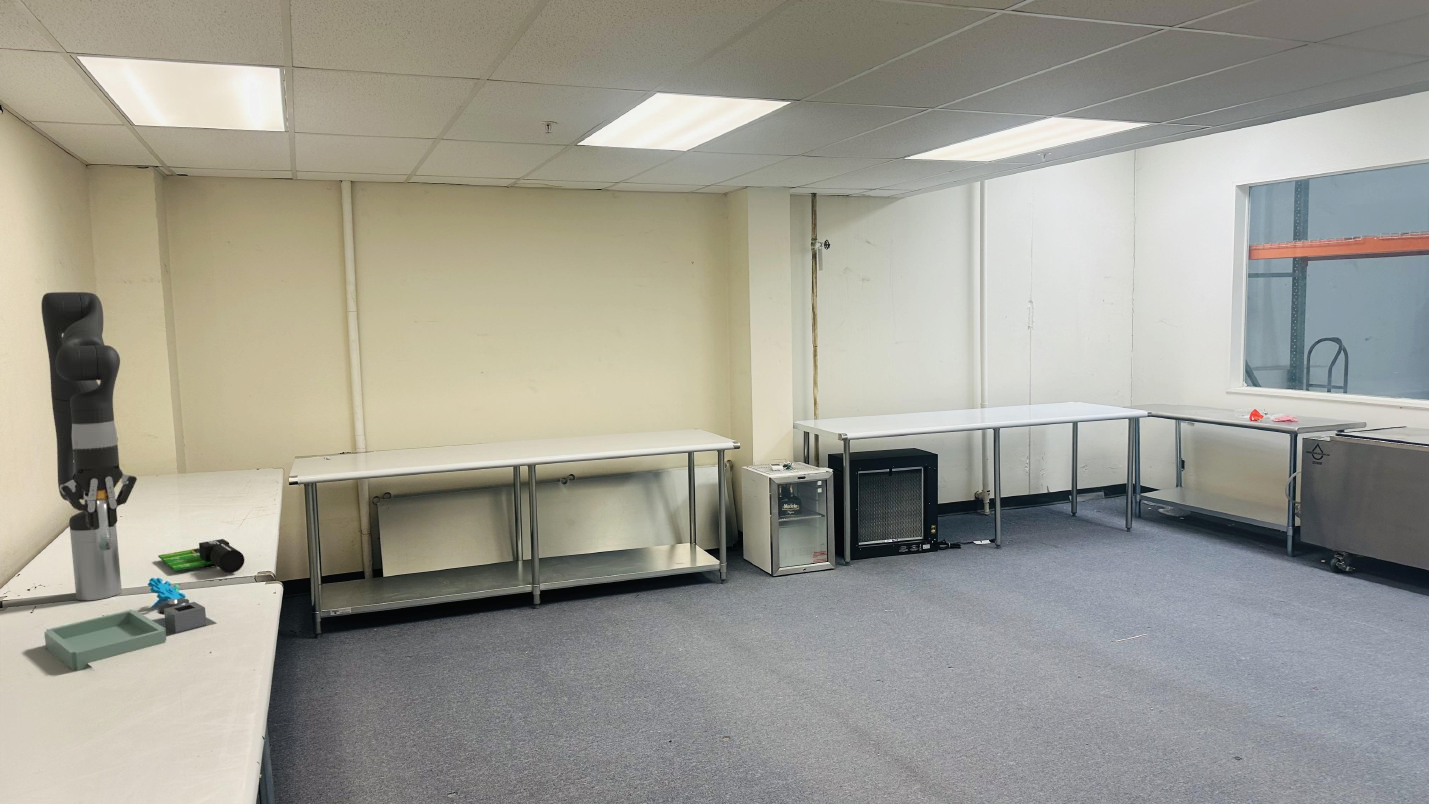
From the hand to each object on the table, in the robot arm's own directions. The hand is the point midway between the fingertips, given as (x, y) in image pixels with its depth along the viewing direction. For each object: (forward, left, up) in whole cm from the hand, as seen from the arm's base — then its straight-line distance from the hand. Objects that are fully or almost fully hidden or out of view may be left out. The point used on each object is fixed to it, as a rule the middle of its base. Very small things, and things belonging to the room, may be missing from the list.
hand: (102, 527), depth 181 cm
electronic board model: (-47, +35, -25) cm, 64 cm away
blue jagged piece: (-17, +16, -25) cm, 35 cm away
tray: (0, -1, -25) cm, 25 cm away
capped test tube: (0, 0, -5) cm, 5 cm away
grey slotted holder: (0, +13, -25) cm, 28 cm away
